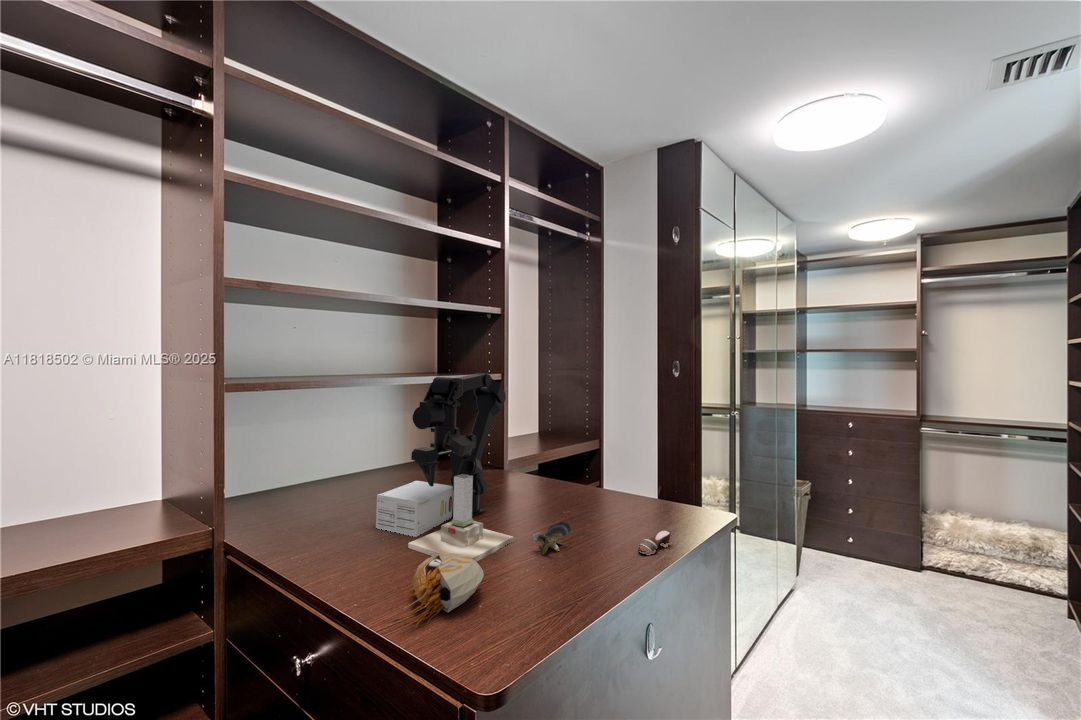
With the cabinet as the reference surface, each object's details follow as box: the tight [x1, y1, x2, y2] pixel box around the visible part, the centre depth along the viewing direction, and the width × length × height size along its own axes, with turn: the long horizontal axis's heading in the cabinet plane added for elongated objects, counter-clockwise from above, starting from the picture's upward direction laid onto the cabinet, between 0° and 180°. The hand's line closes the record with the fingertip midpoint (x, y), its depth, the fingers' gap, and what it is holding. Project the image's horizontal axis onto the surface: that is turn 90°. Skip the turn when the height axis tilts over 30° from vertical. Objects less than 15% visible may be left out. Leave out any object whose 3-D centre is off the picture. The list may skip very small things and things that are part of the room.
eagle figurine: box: [532, 521, 572, 556], centre depth 119 cm, size 8×7×9 cm
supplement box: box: [375, 480, 454, 538], centre depth 134 cm, size 17×13×9 cm
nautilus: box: [396, 553, 485, 629], centre depth 92 cm, size 8×22×15 cm
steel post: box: [451, 474, 474, 527], centre depth 120 cm, size 4×4×12 cm
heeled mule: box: [637, 529, 672, 552], centre depth 120 cm, size 4×11×4 cm, turn 128°
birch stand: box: [407, 520, 514, 563], centre depth 120 cm, size 18×18×5 cm
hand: (443, 482), depth 132 cm, fingers open, 9 cm apart
